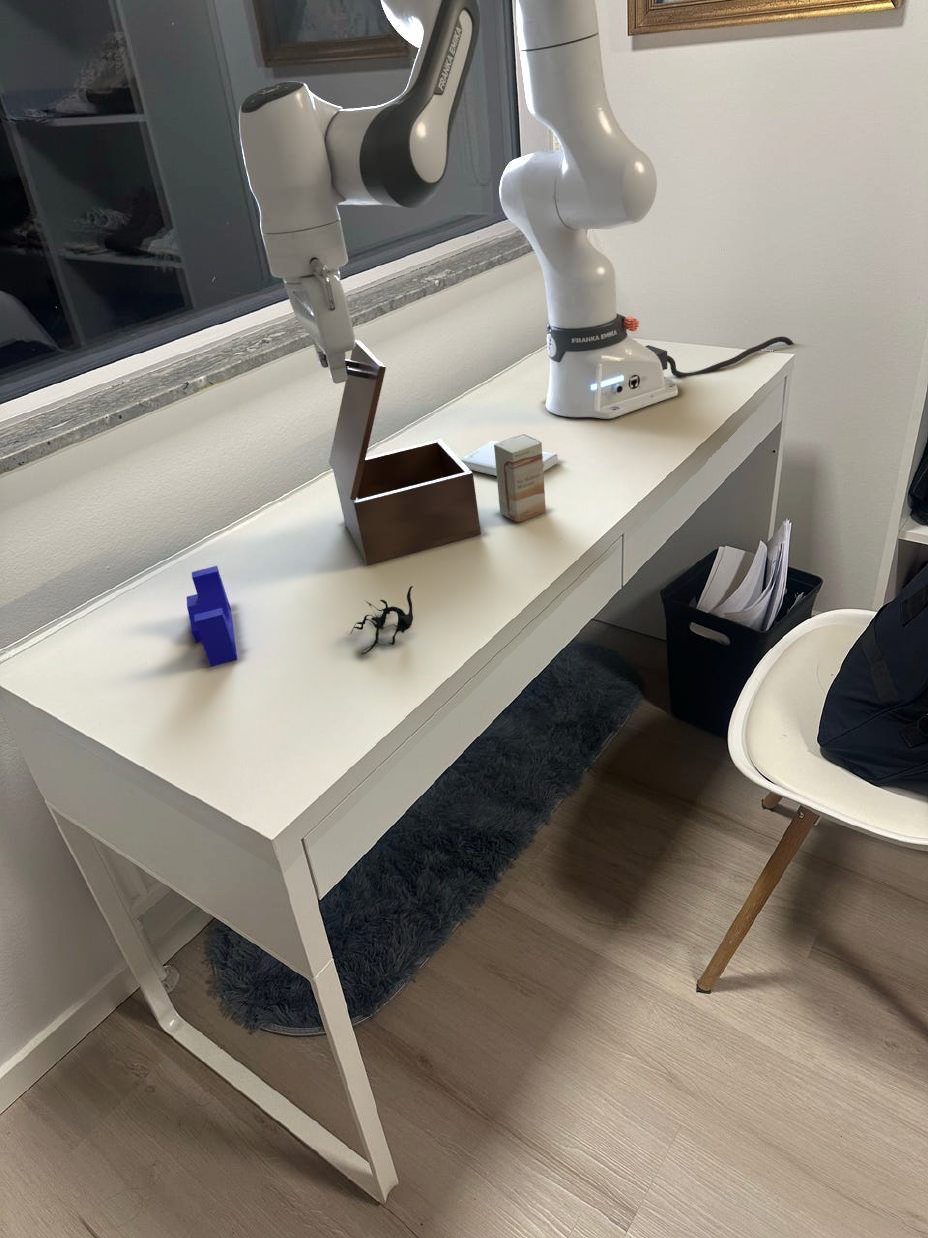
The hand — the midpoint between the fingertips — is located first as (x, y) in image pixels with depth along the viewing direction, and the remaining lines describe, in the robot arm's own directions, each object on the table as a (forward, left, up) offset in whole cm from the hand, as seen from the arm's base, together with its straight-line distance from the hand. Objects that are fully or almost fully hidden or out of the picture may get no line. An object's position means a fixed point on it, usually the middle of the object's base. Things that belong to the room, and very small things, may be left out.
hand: (333, 373), depth 107 cm
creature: (+4, +24, -23) cm, 34 cm away
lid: (-2, 0, -6) cm, 7 cm away
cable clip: (+22, +14, -23) cm, 35 cm away
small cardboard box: (-21, +4, -23) cm, 31 cm away
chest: (-6, 0, -23) cm, 24 cm away
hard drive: (-25, -12, -23) cm, 36 cm away
